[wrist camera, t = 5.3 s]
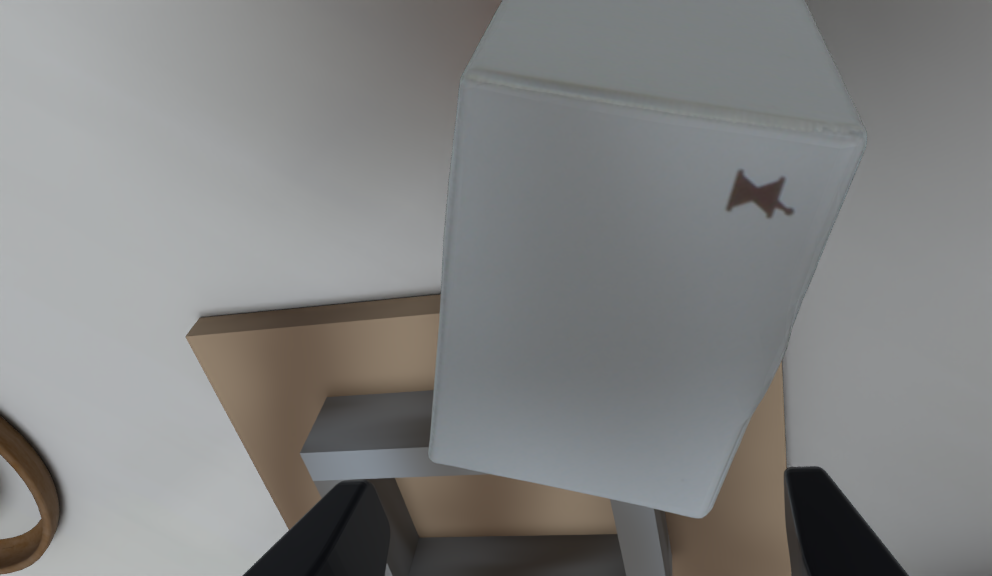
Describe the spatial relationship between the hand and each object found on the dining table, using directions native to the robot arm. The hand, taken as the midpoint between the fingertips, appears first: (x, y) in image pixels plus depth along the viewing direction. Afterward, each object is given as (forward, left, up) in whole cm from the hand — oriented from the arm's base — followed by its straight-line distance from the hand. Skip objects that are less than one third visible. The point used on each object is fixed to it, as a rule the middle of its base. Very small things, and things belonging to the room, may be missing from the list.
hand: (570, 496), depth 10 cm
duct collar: (+5, +12, -13) cm, 19 cm away
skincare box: (-1, -2, -13) cm, 13 cm away
